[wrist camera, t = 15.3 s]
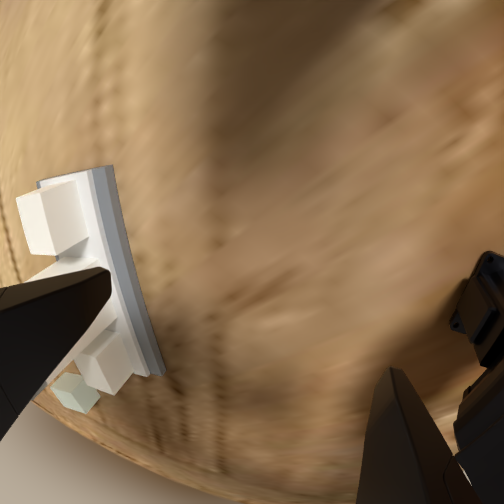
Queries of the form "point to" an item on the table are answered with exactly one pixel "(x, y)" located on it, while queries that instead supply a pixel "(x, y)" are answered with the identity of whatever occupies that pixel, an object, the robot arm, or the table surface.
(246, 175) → the table surface
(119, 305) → the board
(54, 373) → the block
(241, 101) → the table surface
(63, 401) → the box
